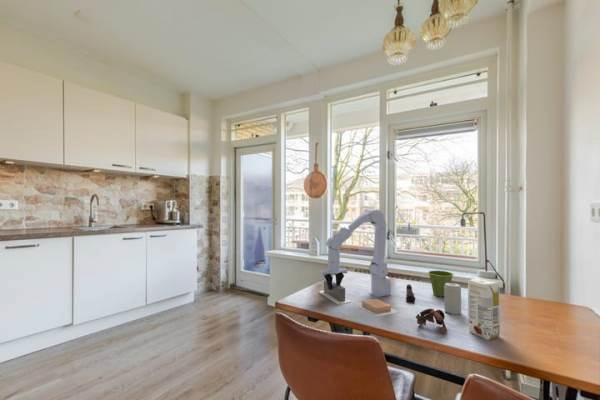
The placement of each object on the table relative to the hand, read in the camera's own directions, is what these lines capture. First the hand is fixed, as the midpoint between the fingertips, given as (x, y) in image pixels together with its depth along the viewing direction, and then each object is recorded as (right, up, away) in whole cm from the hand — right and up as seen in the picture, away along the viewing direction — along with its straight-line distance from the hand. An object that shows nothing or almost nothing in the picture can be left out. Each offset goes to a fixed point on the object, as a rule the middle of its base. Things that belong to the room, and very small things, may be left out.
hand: (333, 288), depth 139 cm
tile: (+15, -3, -10) cm, 18 cm away
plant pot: (+56, -5, +4) cm, 56 cm away
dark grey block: (0, -4, 0) cm, 4 cm away
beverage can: (+49, -4, -19) cm, 53 cm away
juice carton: (+49, -4, -39) cm, 63 cm away
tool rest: (0, -4, 0) cm, 4 cm away
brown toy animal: (+33, -4, -34) cm, 48 cm away
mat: (+17, -4, -15) cm, 23 cm away
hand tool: (+38, -5, +1) cm, 38 cm away
